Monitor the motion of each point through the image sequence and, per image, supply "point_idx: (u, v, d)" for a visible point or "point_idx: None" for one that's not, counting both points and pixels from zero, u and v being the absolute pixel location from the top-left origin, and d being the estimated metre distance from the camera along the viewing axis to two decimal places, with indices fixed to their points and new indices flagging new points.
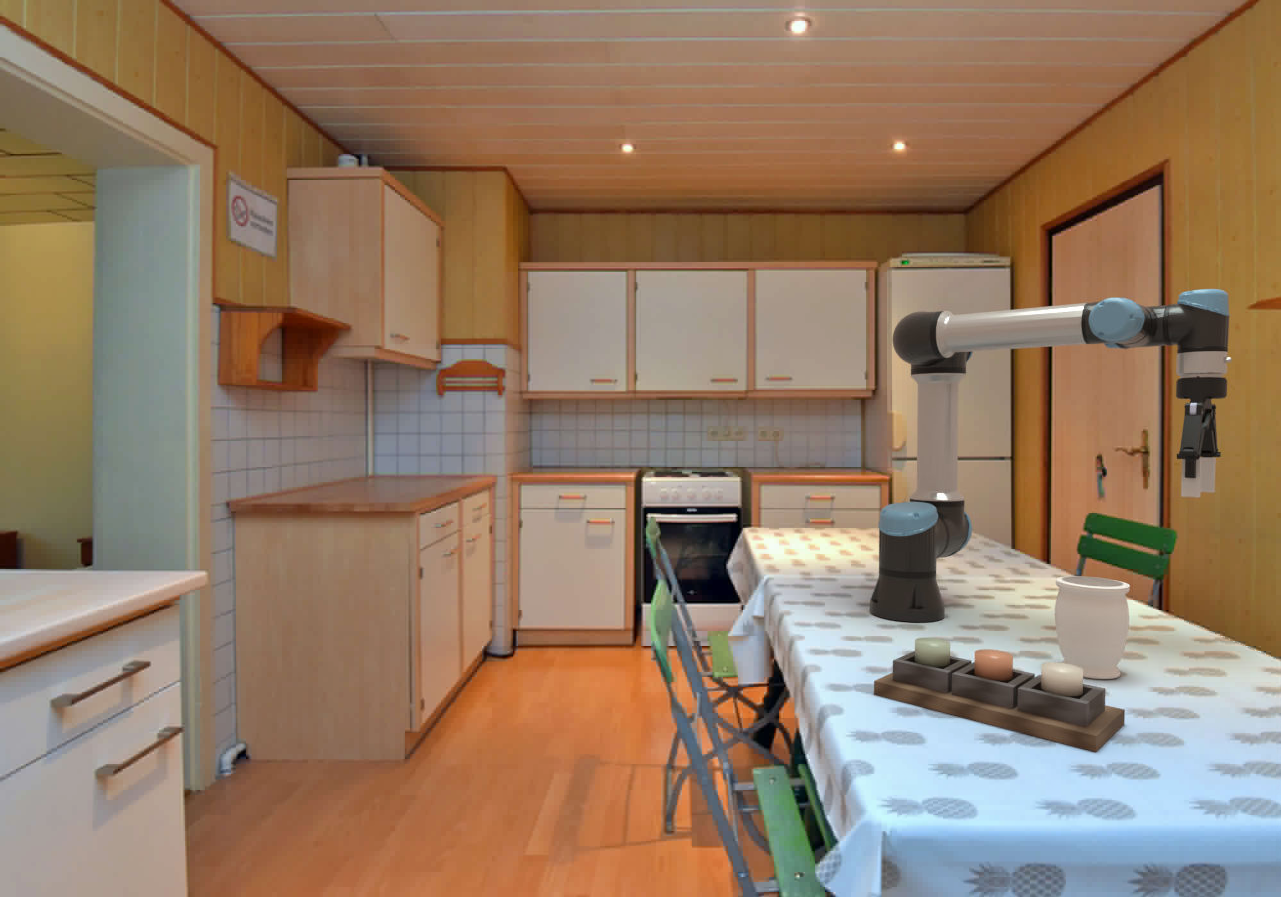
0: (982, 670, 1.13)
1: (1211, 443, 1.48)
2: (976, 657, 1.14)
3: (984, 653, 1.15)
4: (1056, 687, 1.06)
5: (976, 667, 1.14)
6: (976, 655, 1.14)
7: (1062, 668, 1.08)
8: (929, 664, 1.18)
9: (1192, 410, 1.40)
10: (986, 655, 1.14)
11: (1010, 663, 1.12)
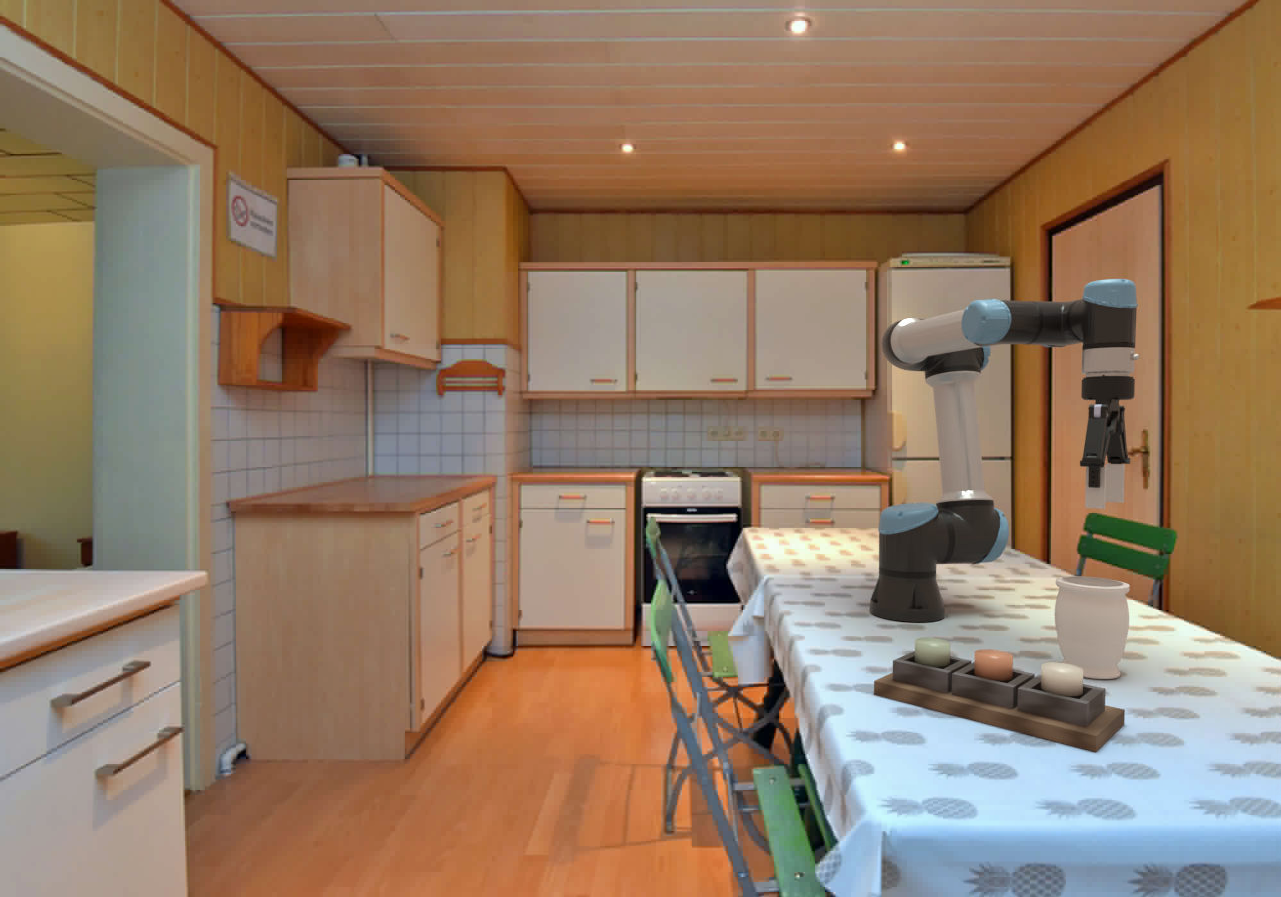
0: (982, 670, 1.13)
1: (1119, 448, 1.35)
2: (976, 657, 1.14)
3: (984, 653, 1.15)
4: (1056, 687, 1.06)
5: (976, 667, 1.14)
6: (976, 655, 1.14)
7: (1062, 668, 1.08)
8: (929, 664, 1.18)
9: (1096, 412, 1.26)
10: (986, 655, 1.14)
11: (1010, 663, 1.12)
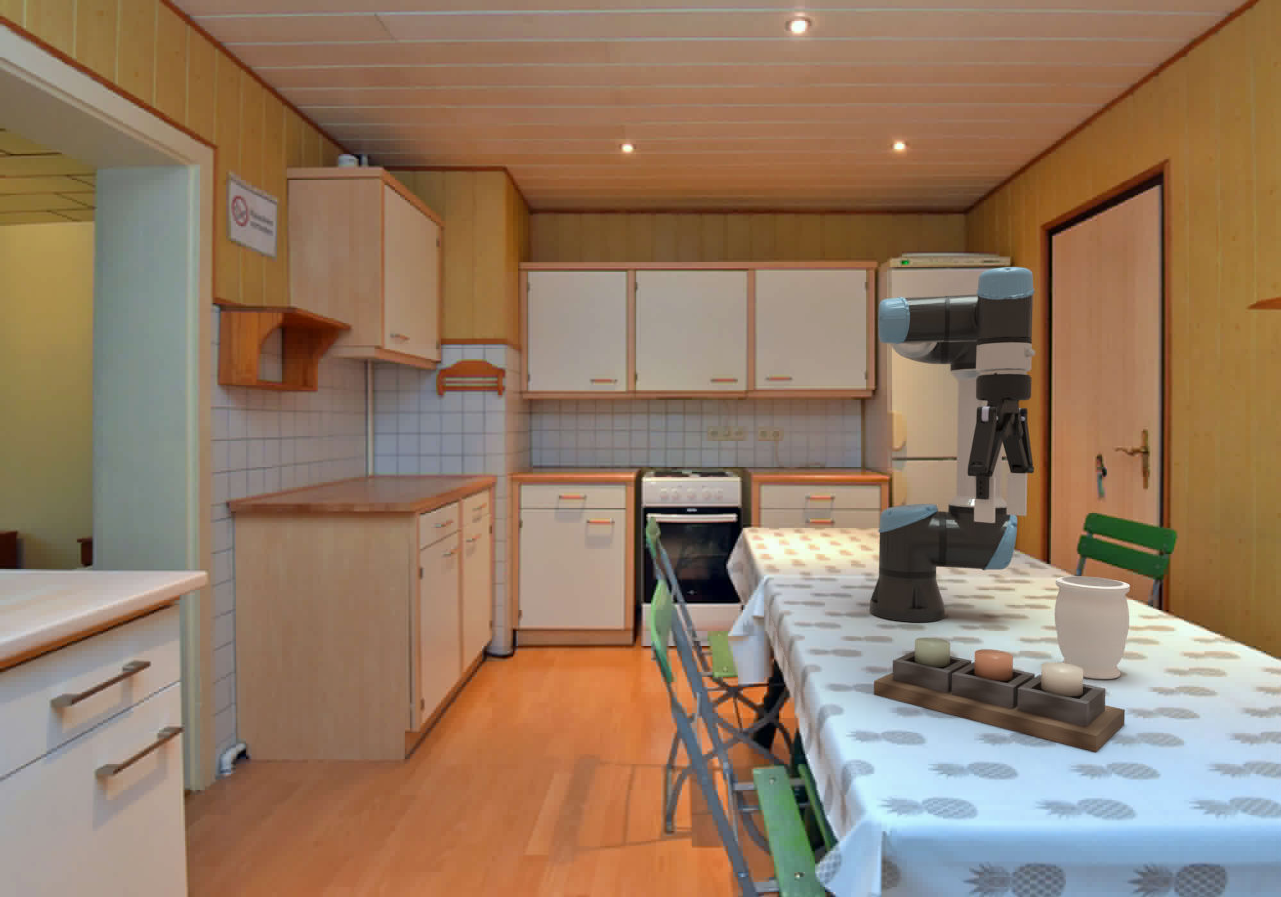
0: (982, 670, 1.13)
1: (1020, 455, 1.23)
2: (976, 657, 1.14)
3: (984, 653, 1.15)
4: (1056, 687, 1.06)
5: (976, 667, 1.14)
6: (976, 655, 1.14)
7: (1062, 668, 1.08)
8: (929, 664, 1.18)
9: (984, 416, 1.15)
10: (986, 655, 1.14)
11: (1010, 663, 1.12)
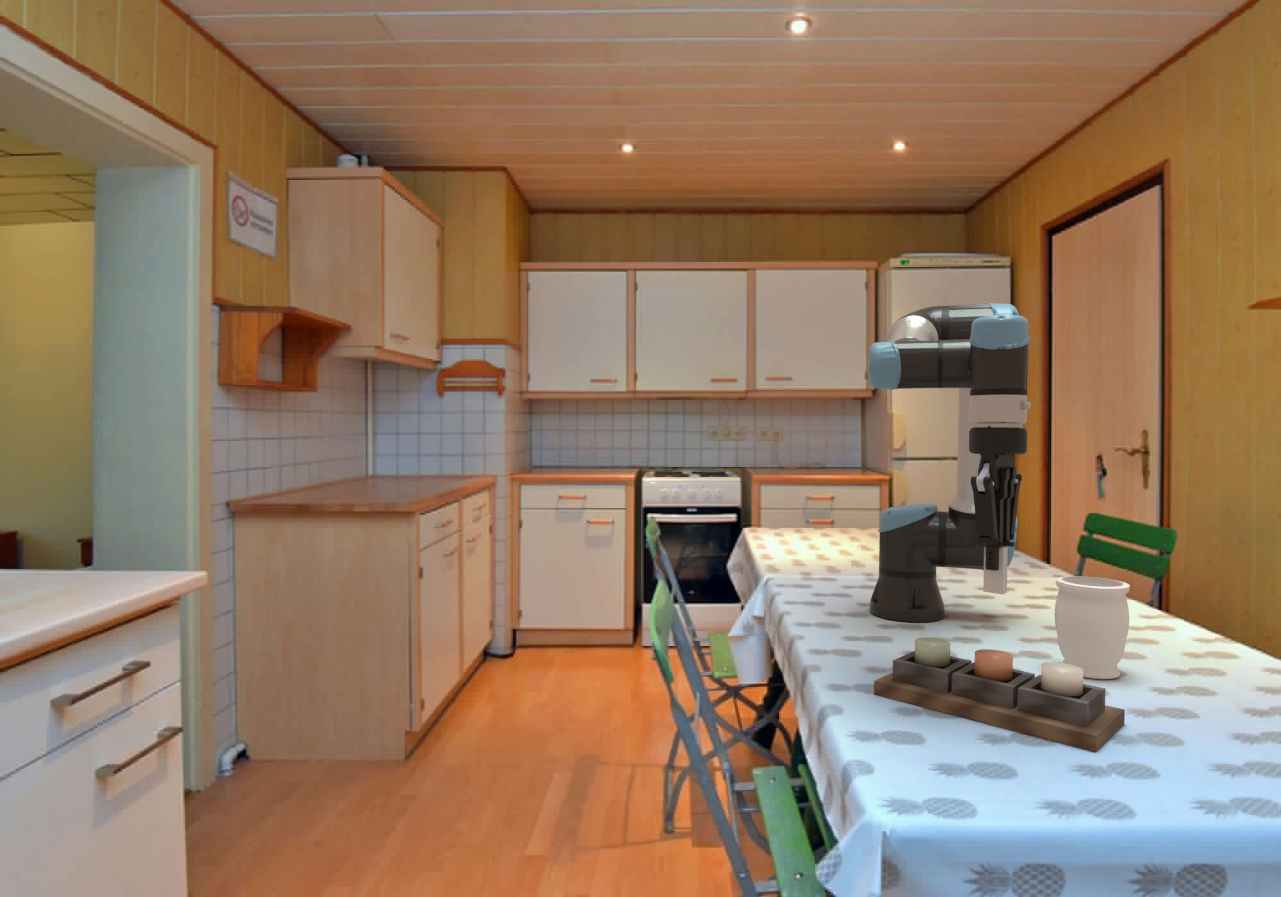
0: (982, 670, 1.13)
1: (1005, 520, 1.13)
2: (976, 657, 1.14)
3: (984, 653, 1.15)
4: (1056, 687, 1.06)
5: (976, 667, 1.14)
6: (976, 655, 1.14)
7: (1062, 668, 1.08)
8: (929, 664, 1.18)
9: (980, 488, 1.09)
10: (986, 655, 1.14)
11: (1010, 663, 1.12)
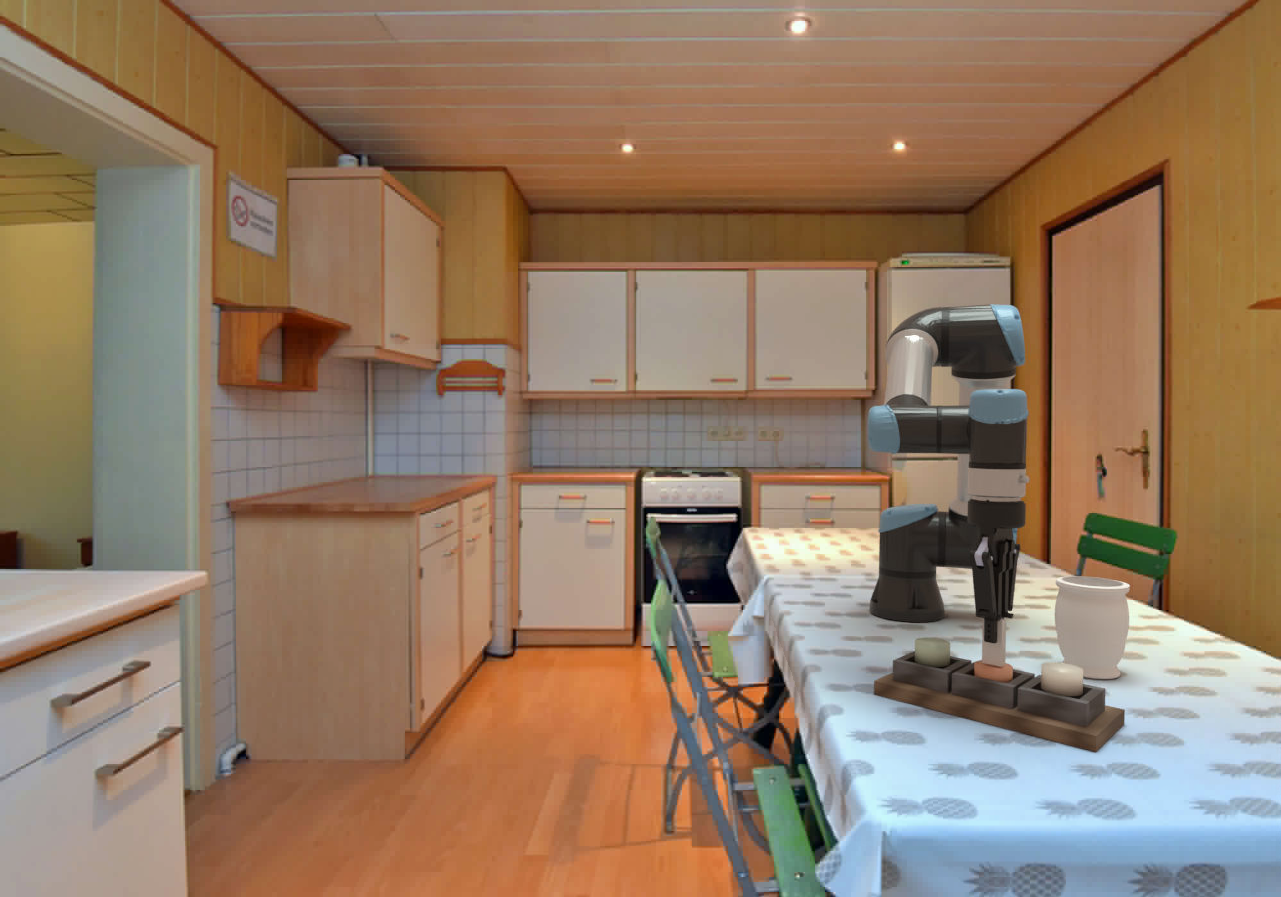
0: None
1: (1003, 592, 1.14)
2: (976, 668, 1.14)
3: (984, 664, 1.15)
4: (1056, 687, 1.06)
5: None
6: (976, 666, 1.14)
7: (1062, 668, 1.08)
8: (929, 664, 1.18)
9: (978, 563, 1.10)
10: (986, 666, 1.14)
11: (1010, 674, 1.12)
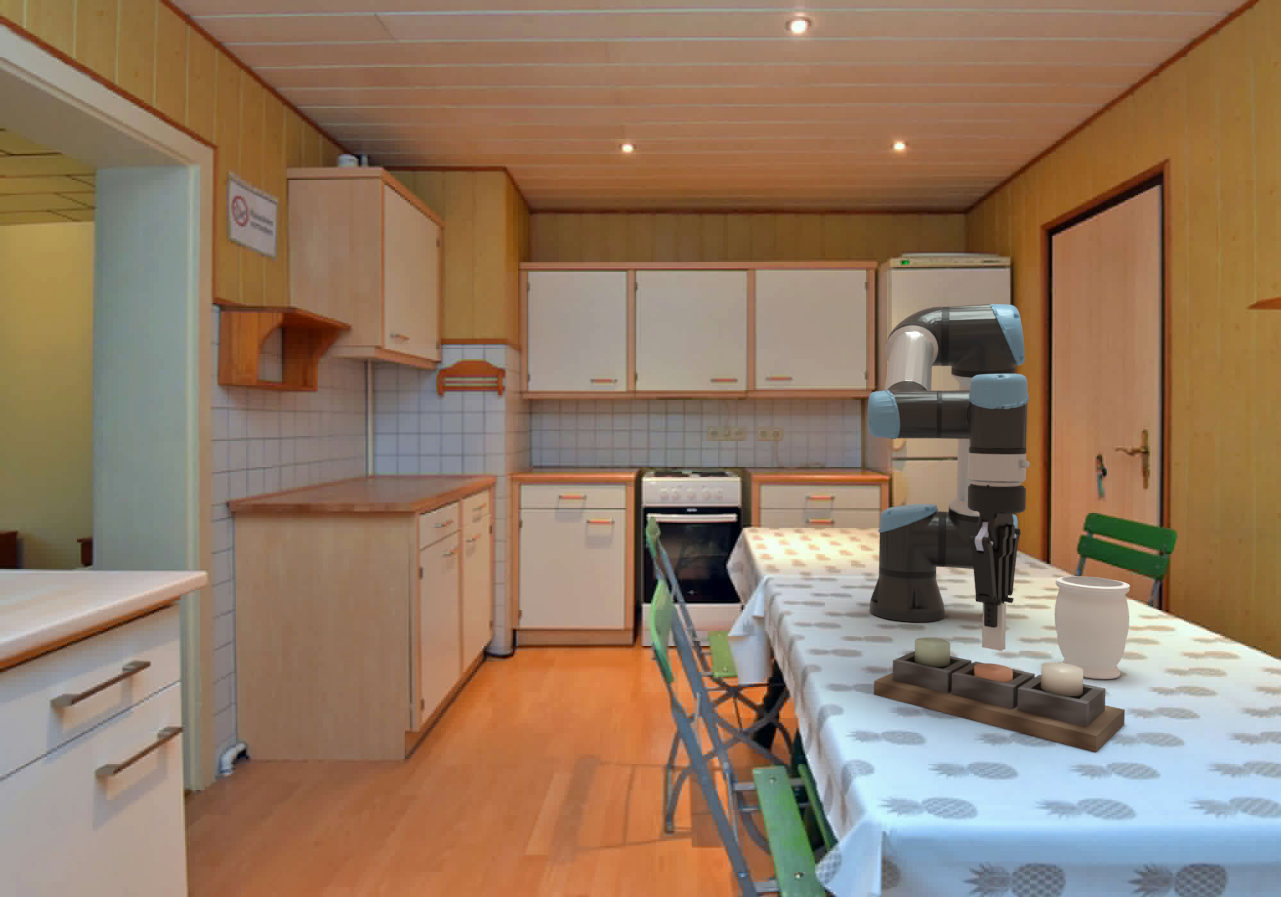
0: None
1: (1003, 576, 1.14)
2: (976, 671, 1.14)
3: (984, 667, 1.15)
4: (1056, 687, 1.06)
5: None
6: (976, 669, 1.14)
7: (1062, 668, 1.08)
8: (929, 664, 1.18)
9: (978, 548, 1.10)
10: (986, 669, 1.14)
11: (1010, 677, 1.12)
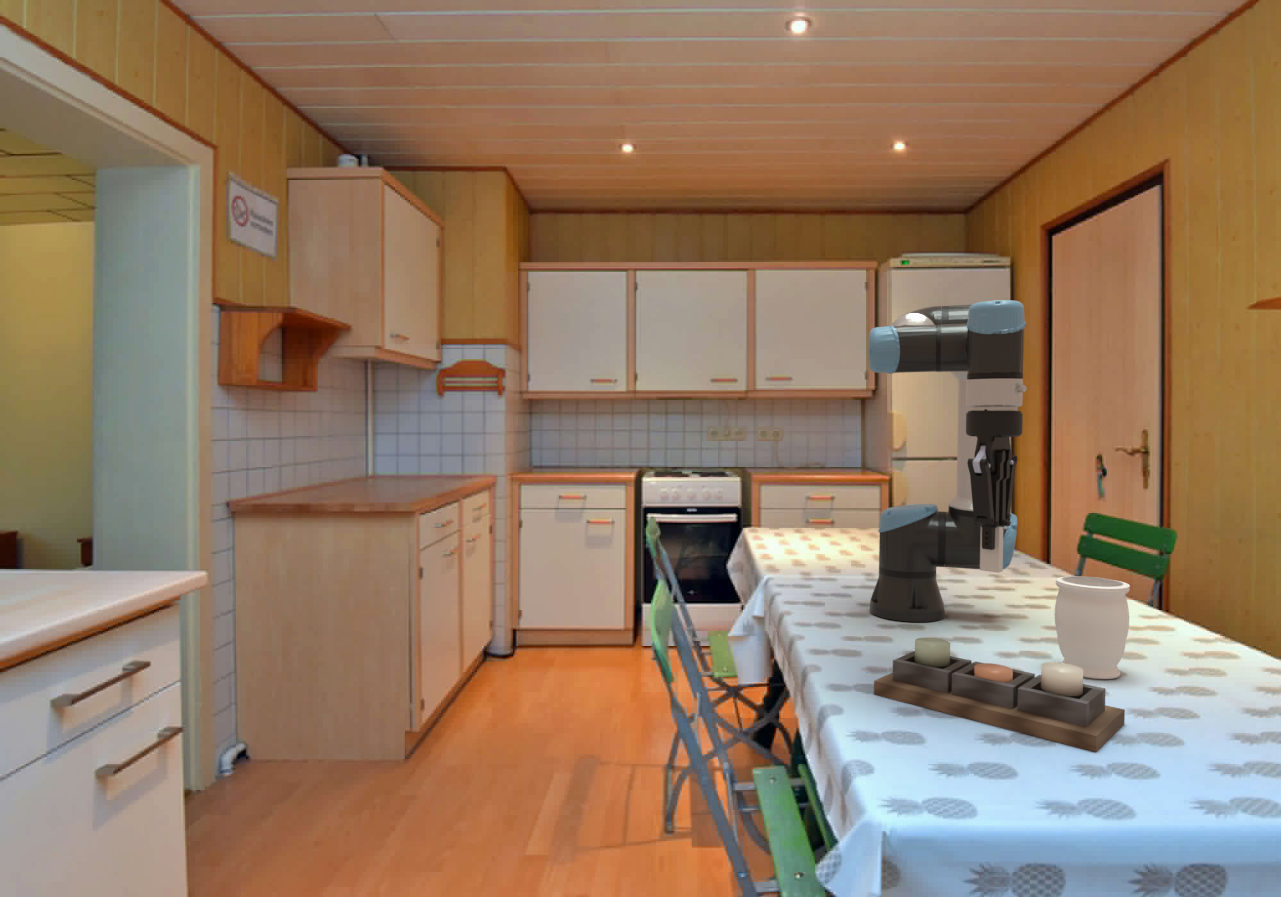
0: None
1: (1000, 500, 1.17)
2: (976, 671, 1.14)
3: (984, 667, 1.15)
4: (1056, 687, 1.06)
5: None
6: (976, 669, 1.14)
7: (1062, 668, 1.08)
8: (929, 664, 1.18)
9: (976, 470, 1.12)
10: (986, 669, 1.14)
11: (1010, 677, 1.12)
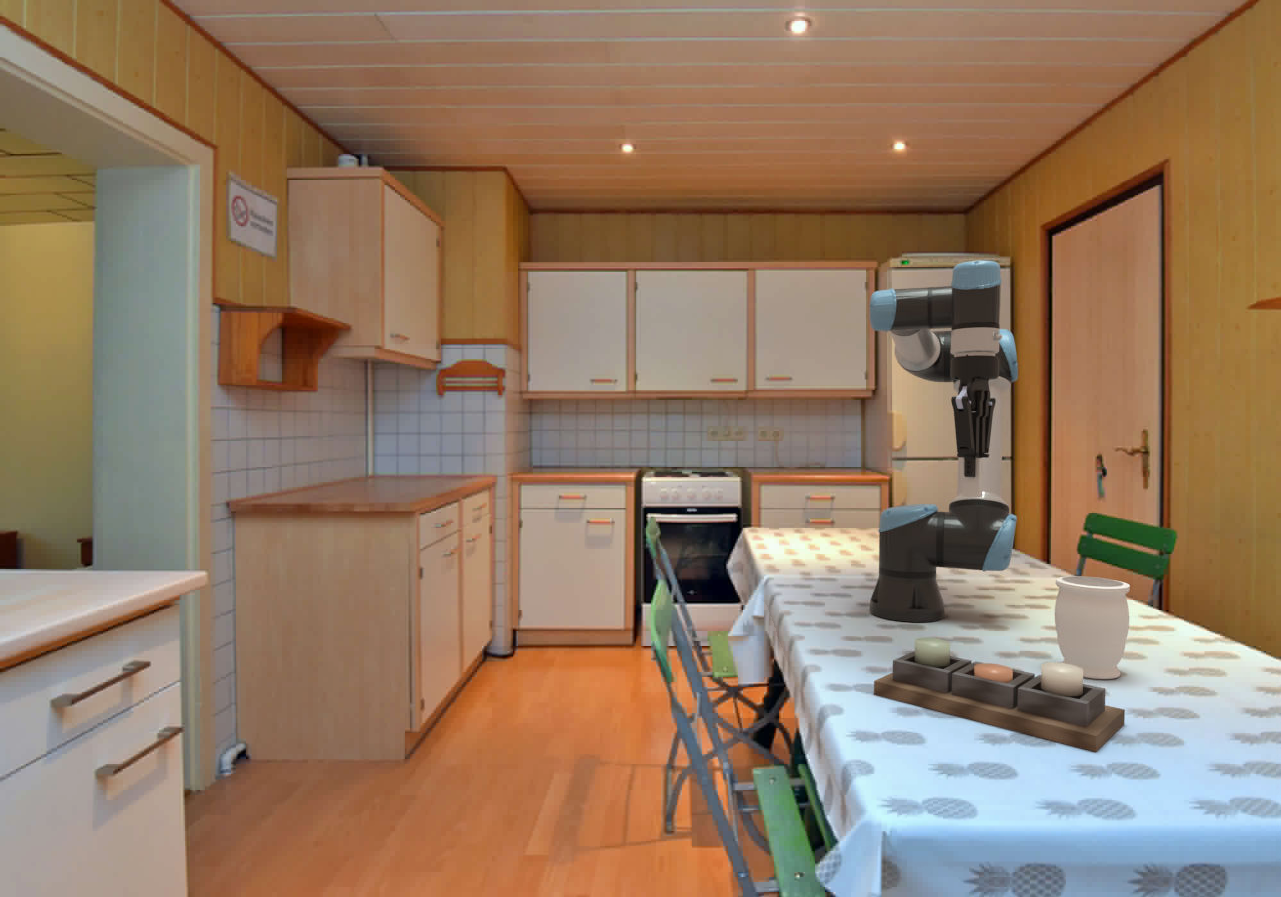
0: None
1: (980, 435, 1.34)
2: (976, 671, 1.14)
3: (984, 667, 1.15)
4: (1056, 687, 1.06)
5: None
6: (976, 669, 1.14)
7: (1062, 668, 1.08)
8: (929, 664, 1.18)
9: (959, 406, 1.30)
10: (986, 669, 1.14)
11: (1010, 677, 1.12)
